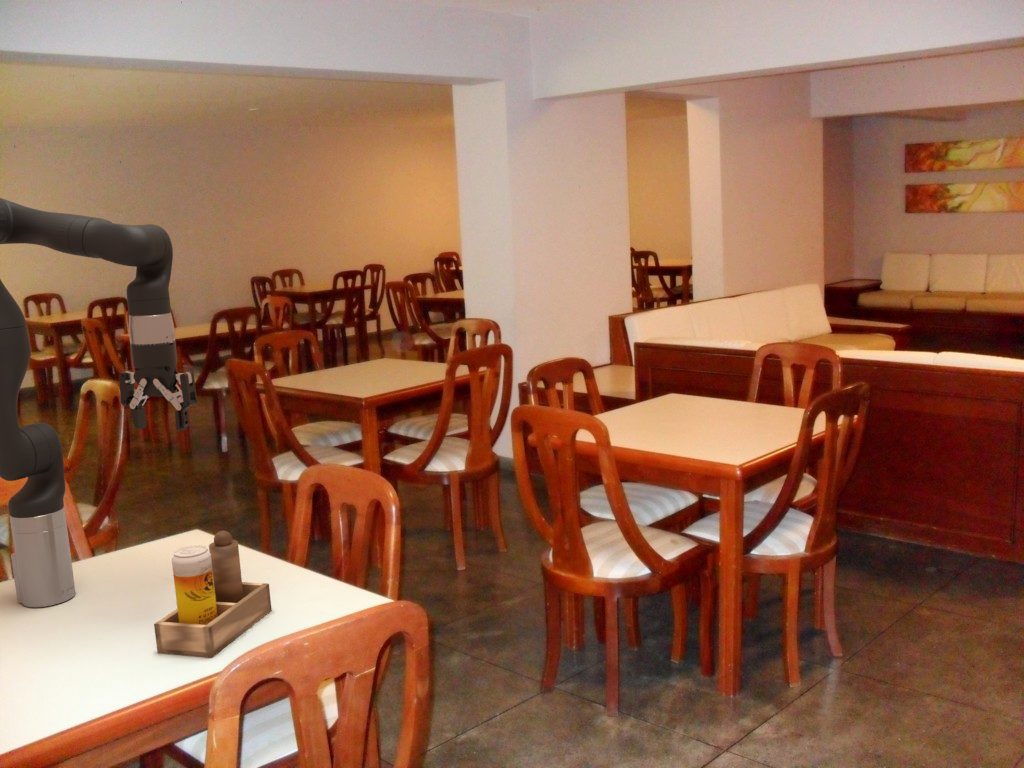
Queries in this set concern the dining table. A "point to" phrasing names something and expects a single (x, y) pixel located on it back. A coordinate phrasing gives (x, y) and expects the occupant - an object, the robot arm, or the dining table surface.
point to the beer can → (194, 585)
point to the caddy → (234, 608)
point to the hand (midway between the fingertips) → (161, 429)
